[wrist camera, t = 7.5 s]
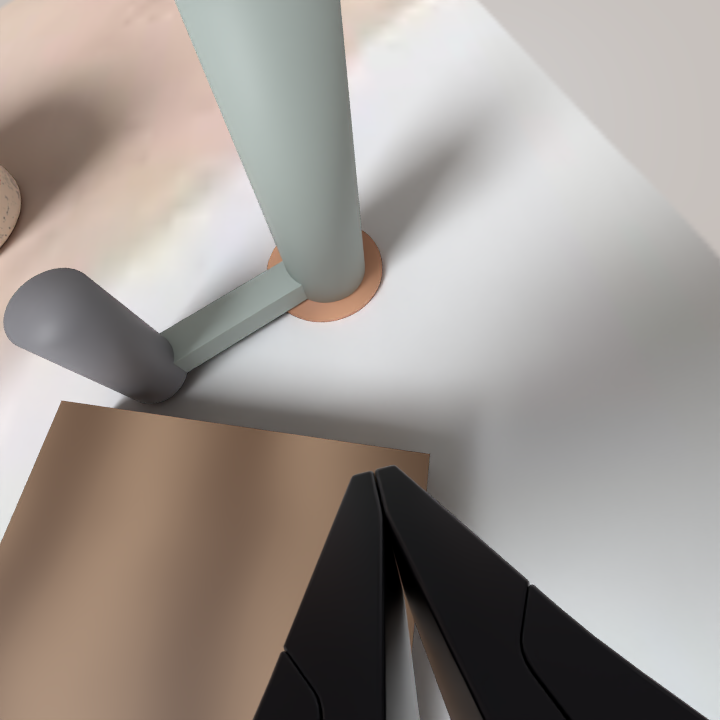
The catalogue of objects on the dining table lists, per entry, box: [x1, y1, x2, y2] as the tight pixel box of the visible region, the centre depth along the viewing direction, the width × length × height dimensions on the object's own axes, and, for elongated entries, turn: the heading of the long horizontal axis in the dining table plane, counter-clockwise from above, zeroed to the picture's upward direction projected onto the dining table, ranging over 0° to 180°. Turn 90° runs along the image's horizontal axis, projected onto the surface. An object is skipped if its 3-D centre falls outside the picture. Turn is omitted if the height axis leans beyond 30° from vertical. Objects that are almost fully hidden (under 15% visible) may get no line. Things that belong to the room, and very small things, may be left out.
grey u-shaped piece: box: [3, 0, 365, 404], centre depth 13 cm, size 12×4×12 cm, turn 124°
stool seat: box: [0, 231, 430, 720], centre depth 15 cm, size 14×25×2 cm, turn 171°
